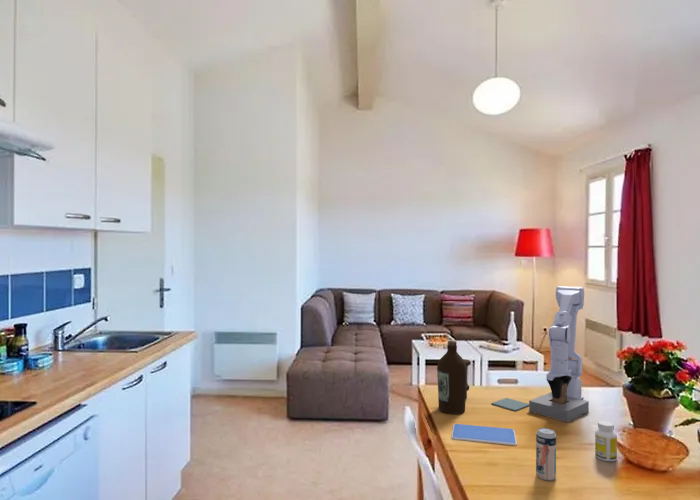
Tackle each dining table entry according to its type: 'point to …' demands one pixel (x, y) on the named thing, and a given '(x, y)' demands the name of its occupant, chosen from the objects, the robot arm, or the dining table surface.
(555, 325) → the robot arm
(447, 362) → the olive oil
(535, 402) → the grey flat block
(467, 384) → the bolt
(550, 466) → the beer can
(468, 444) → the dining table surface
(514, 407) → the mat
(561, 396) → the tall wooden block
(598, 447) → the supplement bottle
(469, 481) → the dining table surface
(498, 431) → the tablet computer
